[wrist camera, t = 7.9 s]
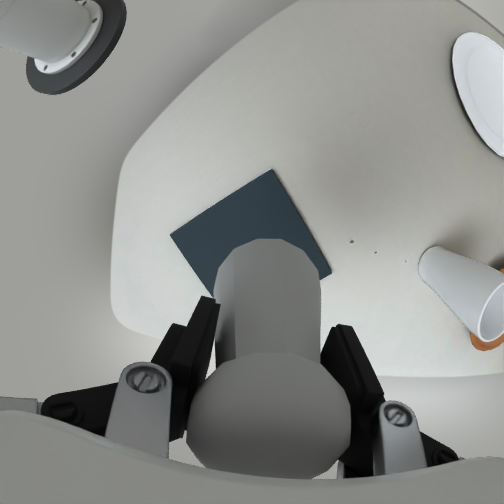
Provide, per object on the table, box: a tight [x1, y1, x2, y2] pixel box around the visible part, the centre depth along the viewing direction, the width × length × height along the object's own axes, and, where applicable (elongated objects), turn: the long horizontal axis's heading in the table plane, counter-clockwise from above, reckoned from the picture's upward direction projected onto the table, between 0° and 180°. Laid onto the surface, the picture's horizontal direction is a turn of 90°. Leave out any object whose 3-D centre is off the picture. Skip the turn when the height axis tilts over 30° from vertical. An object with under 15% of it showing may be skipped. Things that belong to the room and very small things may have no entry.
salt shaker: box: [186, 239, 351, 479], centre depth 11 cm, size 6×6×13 cm
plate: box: [452, 32, 504, 157], centre depth 24 cm, size 21×21×2 cm
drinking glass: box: [418, 246, 504, 342], centre depth 25 cm, size 7×7×15 cm
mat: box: [170, 169, 332, 298], centre depth 33 cm, size 14×14×1 cm
